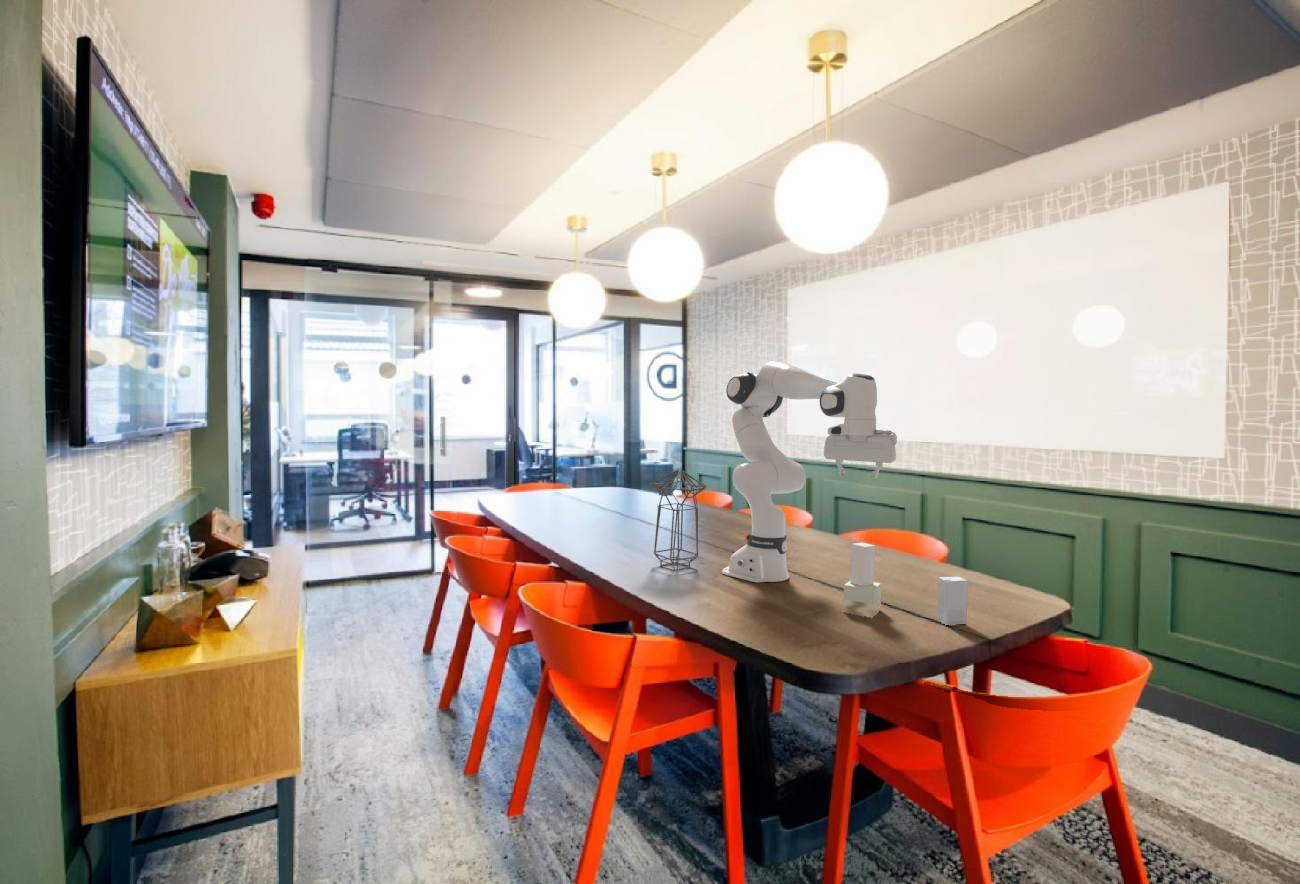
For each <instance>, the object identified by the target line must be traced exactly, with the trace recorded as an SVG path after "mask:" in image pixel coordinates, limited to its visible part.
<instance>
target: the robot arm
mask: <svg viewBox="0 0 1300 884" xmlns="http://www.w3.org/2000/svg"><path fill="white" fill-rule="evenodd" d="M877 390H878V389H877V383H876V379H875V377H873V376H872V375H869V374H864V373H849V374H848V375H847V376H846V377H845V379H843V380H842V381H841V382H835V381H831V380H829V379H825V378H822V377H820V376H818V375H816V374H813V373H811V372H809V371H806V370H804V369H802V368H799V367H797V366H795V365H792V364H789V363H785V362H779V361H770V362H766V363H765V364H764V365H763V366H762V367H761V368H760V370H759V372H758V373H757V374H754V373H753V372H751V371H750V372H746V373H742V374H741V373H740V374H736V375H734V376H733V377H732V378H730V380H729V381H728V383H727V385H726V397H727V398H728V400H729V401H731V402H732V403H734V404H736V405H740V406H741V407H740V408H738V409H736V410H735V411H734V413H733V414H732V418H731V422H732V428H733V431H734V436H735V439H736V441H737V443H738V446H739V449H740V452H741V454H742V457H744V458H745V460H747V461H748V462H744V463H740V464H738V465H737V466H736V467H735V468H734V470H733V473H732V480H731V481H732V485H733V487H734V488H735V490H736V491H737V492H739V494H740V495H741V496H743V498H745V500H746V502H747V504H748V505H749V508H750V514H751V533H749V534H748V535H746V536H744V538H745V539H744V540H745V541H746V544H745V545H743V546H742V547H741V548H739V549H737V550H736V551H735V552H734V553H732V555H731V556H730V558H729V562H728V566H726V567H724V568H723V569H722V572H721V574H723V575H725V576H728V577H733V578H737V579H741V580H745V581H749V582H753V583H766V582H768V583H769V582H770V583H775V582H776V583H777V582H784V581H787V580H788V579H790V574H789V571H788V570H789V569H788V564H787V557H786V556H787V555H786V552H787V545H788V544H787V542H788V541H787V535H786V513H785V512H784V510H783V509H782V508H781V507H780V506H778V505H777V504H774V503H773V499H772V495H777V494H779V495H781V494H791V493H794V492H799V491H800V490H802V489H803V487H804V486H805V484H806V479H807V474H806V471H805V468H804V467H803V465H802V464H800V463H799V462H796V461H795V460H792V459H791V458H789V457H788V456H787V455H785V454H784V453H783V452H782V451H781V450H780V449H779V448H778V447H777V446H776V445H775V443H774V442H773V440H772V438H771V435H770V434H769V431H768V429H767V427H766V425H765V423H764V420H763V419H764V418H767V417H770V416H771V415H772V414H773V413H775V412H776V411H777V410H778V409H779V408H780V407H781V405H782V402H783V400H784V399H788V400H819V408H820V410H821V412H822V413H823V414H824V415H825V416H826V417H830V418H844V422H843V423H841V424H837V425H834V426H830V427H828V428H827V434H828V436H827V437H826V439H825V441H824V447H823V456H824V457H825V459H826V460H832V461H833V460H835V465H836V467H837V469H838V471H839V472H838V475H839V476H846V475H847V469H845V468H844V467H843V465H842V464H843V463H844V462H843V461H850V462H851V461H852V462H868V463H875V467H876V469H875V470H873V471H871V476H870V477H871V478H873V479H878V478H879V473H880V471H881V469H882V468H883V465H884V464H893V463H895V461H896V459H897V450H896V445H897V440H898V436H897V434H896V433H895V432H893V431H892V430H889V429H888V430H887V429H886V430H882V429H877V415H876V408H877V405H878V404H877V403H878V391H877Z"/></svg>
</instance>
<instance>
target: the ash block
mask: <svg viewBox="0 0 1300 884" xmlns="http://www.w3.org/2000/svg"><path fill="white" fill-rule="evenodd" d="M881 603H882V597H880V598H879V599H878V600H877V601H876V602H875V603H874V604H868V603H862V602H857V601H851V600H845V599H844V598H842V613H844V612H845V614H849V613H851V614H850V615H854V614H855V615H854V616H860V617H864V616H868V617H867V618H869V617H872V618H874V617H875V616H876V615H878V613H880V612H881V611H880V610H881V608H882V607H881ZM879 611H880V612H879ZM873 616H874V617H873Z"/></svg>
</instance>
